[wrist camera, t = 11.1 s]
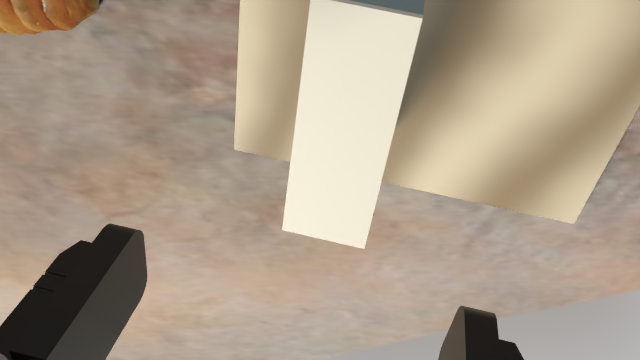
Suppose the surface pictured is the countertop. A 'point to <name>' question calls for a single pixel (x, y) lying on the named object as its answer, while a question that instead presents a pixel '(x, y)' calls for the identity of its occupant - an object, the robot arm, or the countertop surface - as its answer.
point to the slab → (347, 113)
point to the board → (473, 97)
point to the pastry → (43, 15)
